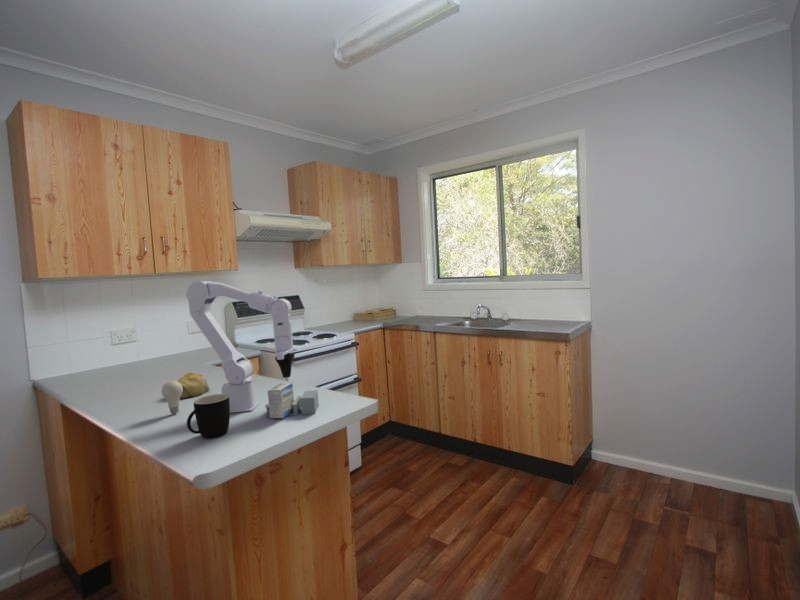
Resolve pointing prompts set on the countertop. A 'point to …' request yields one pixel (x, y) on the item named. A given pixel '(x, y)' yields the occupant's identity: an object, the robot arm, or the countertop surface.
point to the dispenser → (303, 404)
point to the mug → (211, 415)
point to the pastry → (193, 385)
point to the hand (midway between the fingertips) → (286, 376)
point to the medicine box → (281, 400)
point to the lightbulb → (172, 395)
